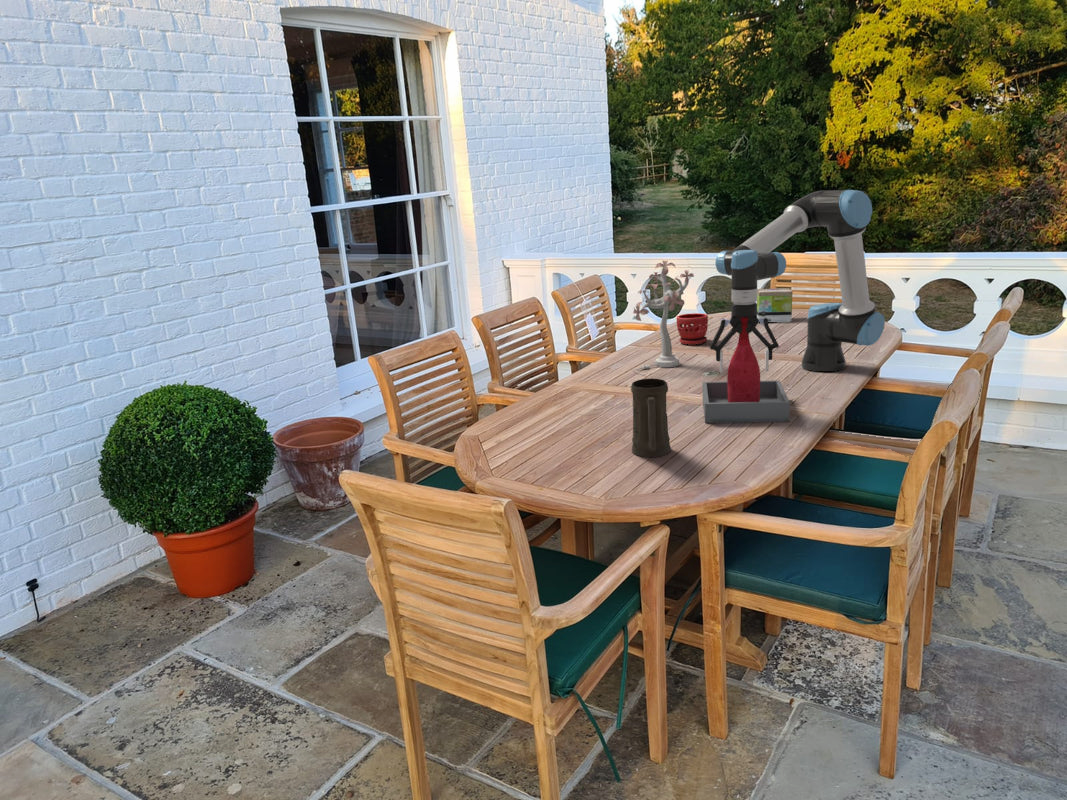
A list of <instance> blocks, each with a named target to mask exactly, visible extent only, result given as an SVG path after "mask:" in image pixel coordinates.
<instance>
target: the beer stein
mask: <svg viewBox="0 0 1067 800" xmlns="http://www.w3.org/2000/svg"><path fill="white" fill-rule="evenodd" d="M630 392H631V393H632V438H631V441H632V442H631V443H632V445H631V453H633V454H634V455H636V456H638V457H644V458H657V457H662V456H666V455H668V454H670V452H671V450H672V448H671V444H670V439H671V438H670V435H669V425H668V423H669V422H668V414H667V393H668V392H669V387H668V382H666V380H664V379H660V378H642V379H641V378H640V379H637V380H634V381H633V382H632V383H631V388H630Z"/></svg>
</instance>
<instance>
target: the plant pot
mask: <svg viewBox="0 0 1067 800" xmlns="http://www.w3.org/2000/svg"><path fill="white" fill-rule="evenodd" d="M708 322H709V316H708V314H707V313H698V312H697V313H696V312H695V313H694V312H693V313H684V314H679V315H677V316H676V329H677V332H678V335H679V336H680V337H679V342H680V343H681V344H683V345H687V344H688V345H689V346H690V345H691V346H692V345H693V346H694V345H695V346H696V344H697V345H702V344H704V343H705V342H706V341H707V340H708V337H707V336H706V334H707V332H708V329H709V328H708V325H709V323H708Z"/></svg>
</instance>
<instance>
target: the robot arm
mask: <svg viewBox="0 0 1067 800" xmlns="http://www.w3.org/2000/svg"><path fill="white" fill-rule="evenodd" d="M872 206H873V204H872V201H871V199H870V198H869V196H868V194H866V193H864V191H862V190H853V189H836V190H835V189H834V190H831V189H830V190H824V189H823V190H817V191H813V192H810V193H809V194H807V195H804V196H802V197H801V198H799V199H797V200H796V201H794V202H793V203H791V204H790V205H788V206H787V207H786V208H784V210H783V214H781V215H780V216H779V217H777V218H776V219H774V220H773V221H771V222H770V223H768V224H766V226H765V227H763V228H762V229H760V230H759V231H757V232H756V233H755V234H753V235H752V236H751V237H749V238H748V239H746V240H745V241H744V242H743V243H741V244H740V245H738V246H736V248H734V249H732V250H722V251H720V252H719V253H718V254H717V256H716V258H715V263H714V264H715V268H716V271H717V272H718V273H719V274H721V275H727V276H731V288H730V289H731V291H730V292H731V297H730V298H731V302H732V303H731V308H730V309H731V310H730V311H731V312H730V313H731V315H730V316H731V317H730V319H726V318H721V319H720V323H719V327H718V329H717V331H716V333H715V335H714V337H713V338H712V341H711V343H710V345H709V349H710V350H713V351H715V360H716V362H719V373H724V371H723V369H724V368H723V367H724V363H723V362H724V356H723V355H724V352H723V348H724V347H725V345H726V344H727V343H728V342H729V341H730V340H731V338H733V336H734V335H735V334H736V333H738V335H739V334H741V332H742V328H741V327H742V323H741V318H740V317H748V323H747V326H748V328H746V332H747V333H749V334H750V333H752V332H753V335H755V336H756V337H757V338H758V339H759V341H760V342H761V343H762V344H763V345H764V346H765V347H766V348H764V351H765V352H764V357H765V358H764V370H765V372H769V364H770V363H769V361H772V360H773V350H775V349H778V348H779V347H780V345H779V343H778V341H777V339H776V337H775V336H774V333H773V331H772V329H771V328H770V325H769V323H768V319H767V317H763V318H760V319H758V318H757V289H758V281H761V280H767V279H774V278H776V277H779V276H781V275H783V274H784V273H785V271H786V269H787V260H786V258H785V256H784V254H782V253H781V252H779V251H773V250H775V249H776V248H777V247H779V246H780V245H782V244H783V243H784V242H785V241H787V240H788V239H789V238H791V237H792V236H794V235H795V234H796V233H801V232H804V231H805V230H807V229H809V228H814V227H815V228H816V227H821V228H822V227H824V228H826V227H827V228H826V229H827V235H828V237H830V238H831V239H832V240H833V241H834V243H833V244H834V249H835V251H834V252H835V257H836V264H837V271H838V272H837V273H838V281H839V288H840V297H841V302H829V303H820V304H816V305H812V306H810V307H809V309H808V313H807V314H808V315H807V333H806V334H807V337H806V339H807V340H806V341H807V343H806V345H807V346H806V349H805V350H804V354H803V356H802V359H801V368H802V367H803V368H804V369H803V368H802V369H803V370H806V369H807V370H806V371H810V370H812V371H811V372H816V371H834V372H837V371H836V370H840V371H842V370H841V369H843V368H845V367H846V365H847V361H846V357H845V355H844V352H843V348H842V343H845V344H853V345H858V346H867V347H868V346H870V347H871V346H873V345H874V344H875V343H877V342H878V341H879V340H880V338H881V337H882V334H883V332H884V329H885V325H886V324H885V322H886V321H885V316H884V314H882V313H880V311H879V312H878V311H876V304H875V302H873V301H871V300H870V293H869V285H868V275H867V269H866V260H865V249H864V243H863V235H862V234H863V233H864V232H865V231H866V229H867V226H868V224H869V223H870V222H871V220H872V217H871V216H872V215H873V207H872ZM772 251H773V252H772ZM759 322H760V323H759ZM729 324H730V326H731V327H732V328H731V329H730V330H729V331H728V333H727V334H725V336H724V337H723V338H722V339H721V337H722V334H723V332H724V330H725V328H726V327H727V326H728V325H729ZM759 324H761V326H764V328H765V329H764V330H765V331H766V332H767V335H768V336H769V338H770V340H771V342H772V343H770V342H769V341H768V339H766V337H764V335H763V334H762V333H761V332H760V331H759V330H758V328H757V325H759ZM720 339H721V341H720V342H719V340H720ZM718 342H719V343H718ZM846 368H847V367H846ZM846 368H845V369H846ZM843 370H844V369H843Z"/></svg>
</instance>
